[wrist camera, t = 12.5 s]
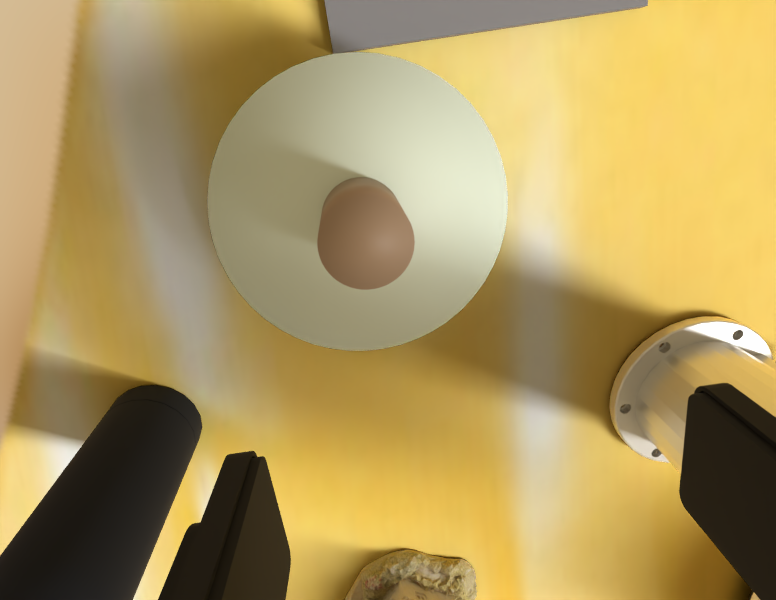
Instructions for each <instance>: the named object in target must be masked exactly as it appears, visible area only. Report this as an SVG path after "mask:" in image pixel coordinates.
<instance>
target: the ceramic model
mask: <svg viewBox="0 0 776 600" xmlns="http://www.w3.org/2000/svg"><path fill="white" fill-rule="evenodd" d="M475 579H476V576H475V571H474V568H472V566H471V565H470V564H469V563H468V562H467V561H466V560H463V559H453V558H444V557H440V556H433V555H429V554H426V553H423V552H419V551H415V550H410V549H406V550H400V551H396V552H391V553H389V554H386V555H384V556H382V557H380V558H379V559H377V560H375V561H373V562H371V563H370V564H368V565H366V566H365V567H364V568H363V569H362V570H361V572H360V573H359V575H358V576H357V578H356V580H355V582H354V584H353V585H352V587H351V589H350V590H349V592H348V594H347V596H346V598H345V600H475V598H476V596H477V590H476V582H475Z"/></svg>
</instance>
